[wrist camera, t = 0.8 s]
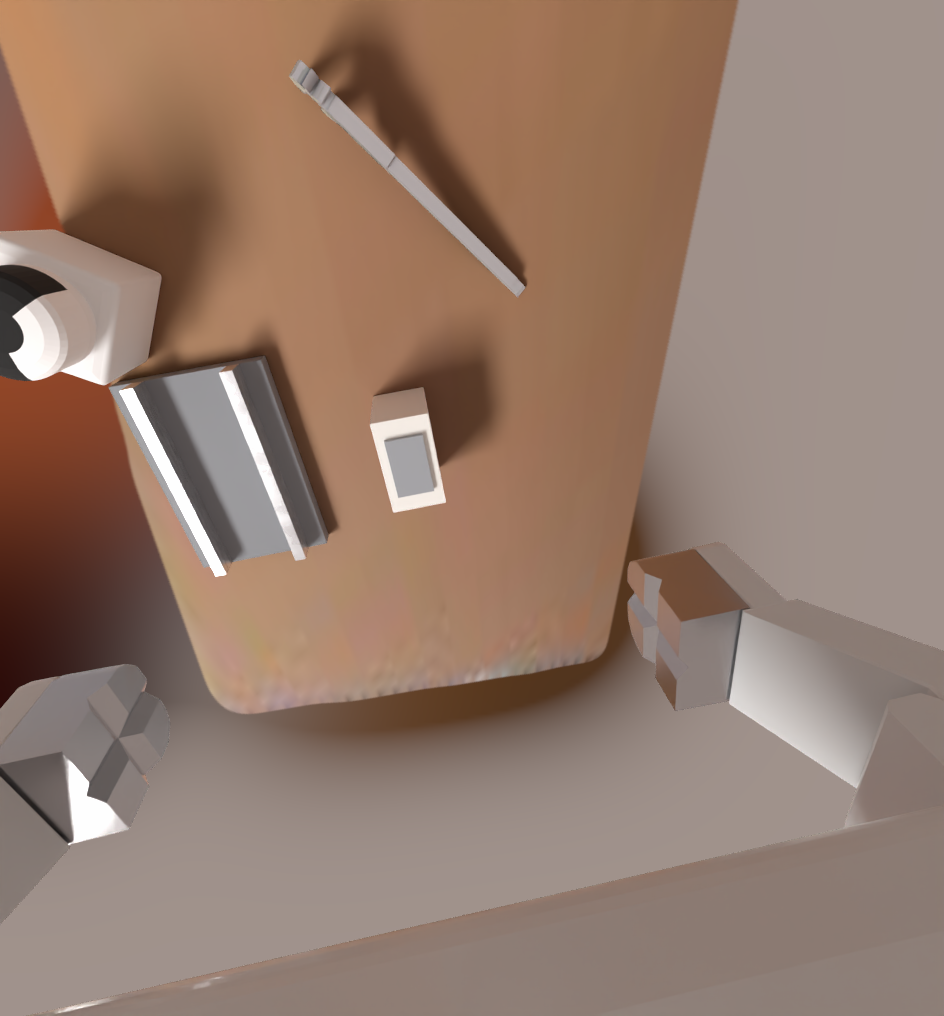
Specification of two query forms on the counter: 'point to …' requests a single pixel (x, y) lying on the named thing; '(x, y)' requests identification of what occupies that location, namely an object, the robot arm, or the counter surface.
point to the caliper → (399, 171)
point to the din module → (407, 449)
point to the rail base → (229, 457)
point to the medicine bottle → (72, 308)
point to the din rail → (181, 479)
